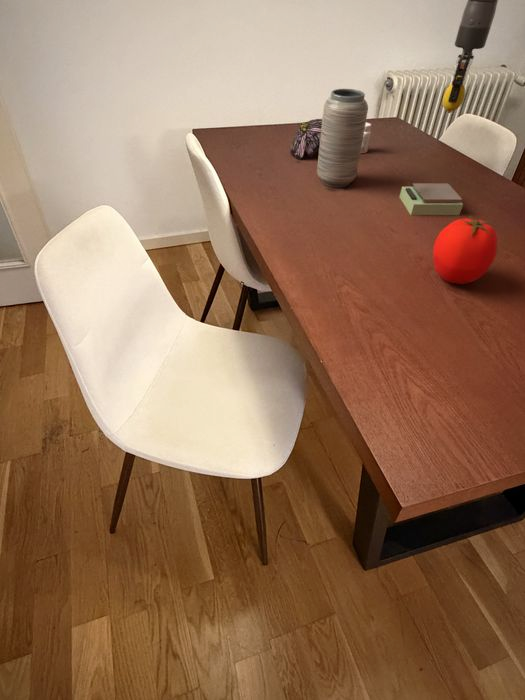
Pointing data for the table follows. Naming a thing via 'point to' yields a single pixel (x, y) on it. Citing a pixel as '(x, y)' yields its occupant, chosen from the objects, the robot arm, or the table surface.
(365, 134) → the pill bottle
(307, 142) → the decorative flower
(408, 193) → the scale
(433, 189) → the scale pan
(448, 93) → the lemon
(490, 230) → the tomato
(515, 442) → the table surface
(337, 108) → the vase
